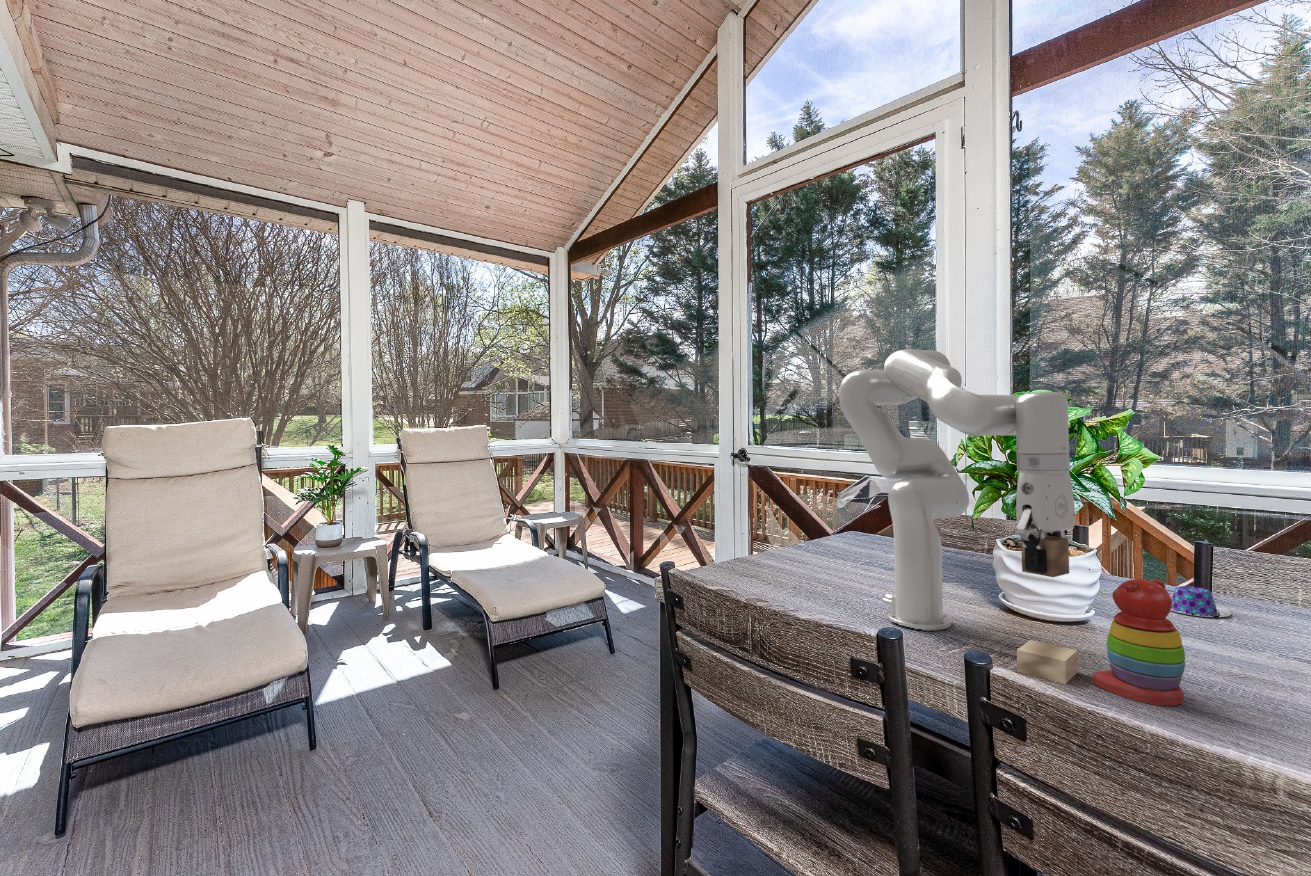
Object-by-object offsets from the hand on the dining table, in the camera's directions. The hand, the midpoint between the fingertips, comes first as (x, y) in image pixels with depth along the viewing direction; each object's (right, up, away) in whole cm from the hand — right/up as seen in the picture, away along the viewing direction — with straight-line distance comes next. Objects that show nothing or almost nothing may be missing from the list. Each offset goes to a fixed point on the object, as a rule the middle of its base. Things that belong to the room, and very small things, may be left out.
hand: (1045, 568), depth 99 cm
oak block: (0, -18, 0) cm, 18 cm away
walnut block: (0, -1, 0) cm, 1 cm away
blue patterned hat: (+54, -17, +31) cm, 65 cm away
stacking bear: (+10, -18, -9) cm, 22 cm away
